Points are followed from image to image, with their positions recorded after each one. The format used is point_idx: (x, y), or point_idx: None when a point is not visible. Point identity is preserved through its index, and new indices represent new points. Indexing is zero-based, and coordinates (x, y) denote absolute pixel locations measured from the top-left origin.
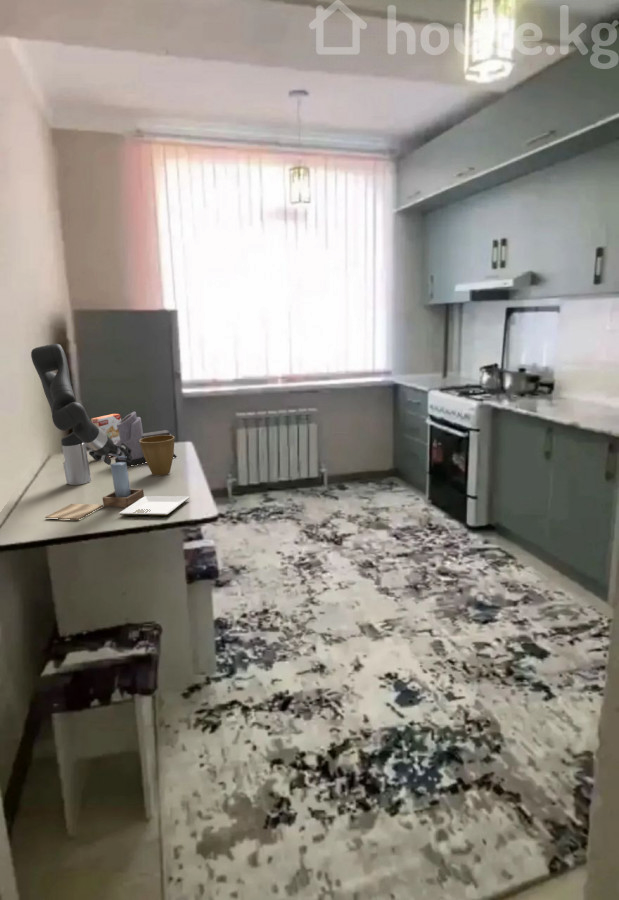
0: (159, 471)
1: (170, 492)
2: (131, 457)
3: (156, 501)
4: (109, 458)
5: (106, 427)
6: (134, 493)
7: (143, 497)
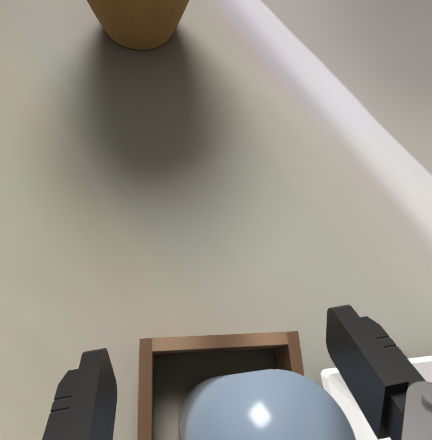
0: (155, 36)
1: (351, 246)
2: (380, 338)
3: None
4: (99, 373)
5: None
6: None
7: (333, 396)
